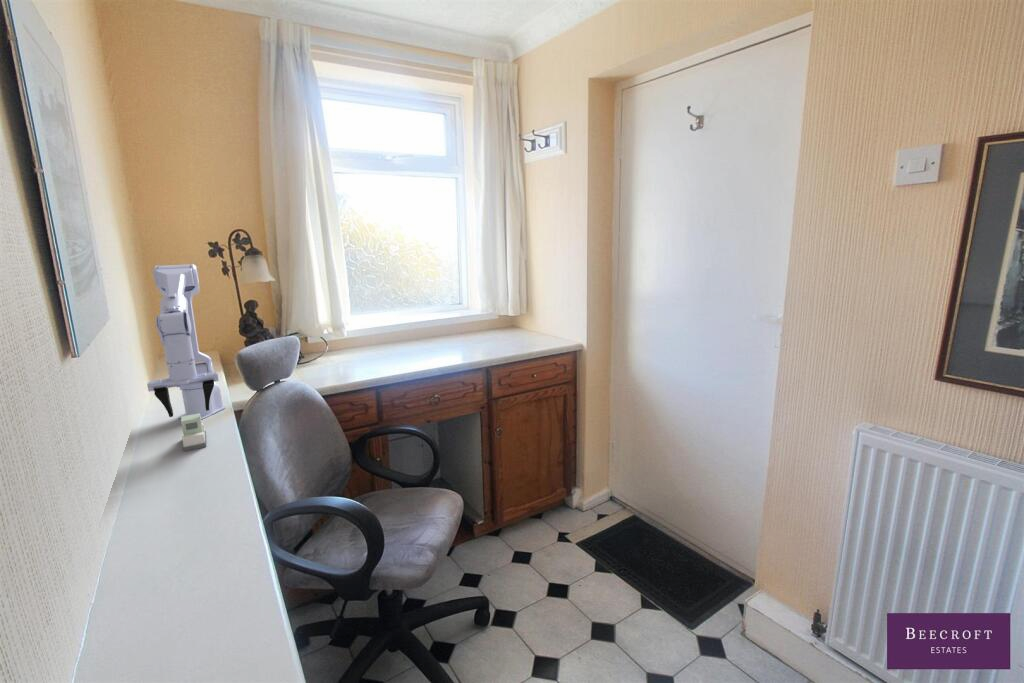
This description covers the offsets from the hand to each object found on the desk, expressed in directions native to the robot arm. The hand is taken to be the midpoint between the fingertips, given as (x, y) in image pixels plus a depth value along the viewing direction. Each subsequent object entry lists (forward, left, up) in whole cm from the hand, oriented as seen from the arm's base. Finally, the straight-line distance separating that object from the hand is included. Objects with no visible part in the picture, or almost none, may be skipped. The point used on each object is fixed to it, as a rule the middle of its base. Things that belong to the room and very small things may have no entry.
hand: (189, 412), depth 121 cm
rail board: (0, 0, -8) cm, 8 cm away
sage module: (0, 0, -7) cm, 7 cm away
